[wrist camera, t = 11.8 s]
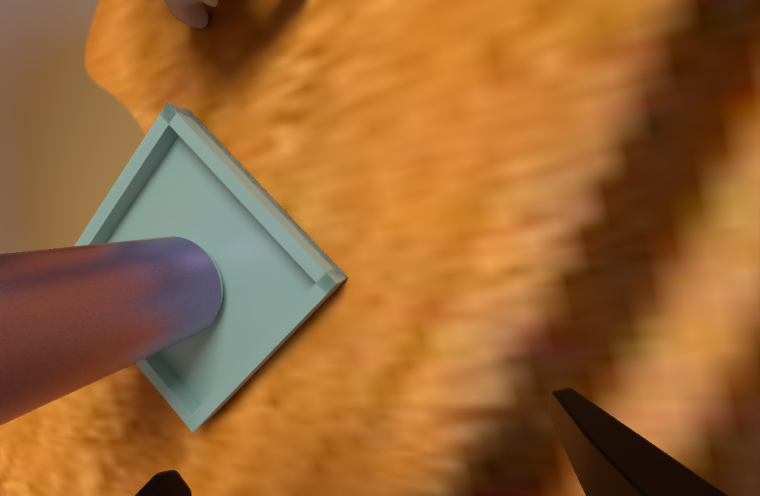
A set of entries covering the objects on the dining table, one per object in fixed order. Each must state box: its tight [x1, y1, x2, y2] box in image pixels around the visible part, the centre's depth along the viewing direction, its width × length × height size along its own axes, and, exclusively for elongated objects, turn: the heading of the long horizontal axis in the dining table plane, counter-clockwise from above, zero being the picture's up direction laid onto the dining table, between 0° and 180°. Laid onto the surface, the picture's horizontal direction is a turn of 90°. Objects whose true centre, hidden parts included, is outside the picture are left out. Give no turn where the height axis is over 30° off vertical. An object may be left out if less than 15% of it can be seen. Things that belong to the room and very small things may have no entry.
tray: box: [75, 103, 348, 433], centre depth 21 cm, size 14×14×2 cm
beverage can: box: [0, 236, 223, 425], centre depth 14 cm, size 6×6×15 cm
